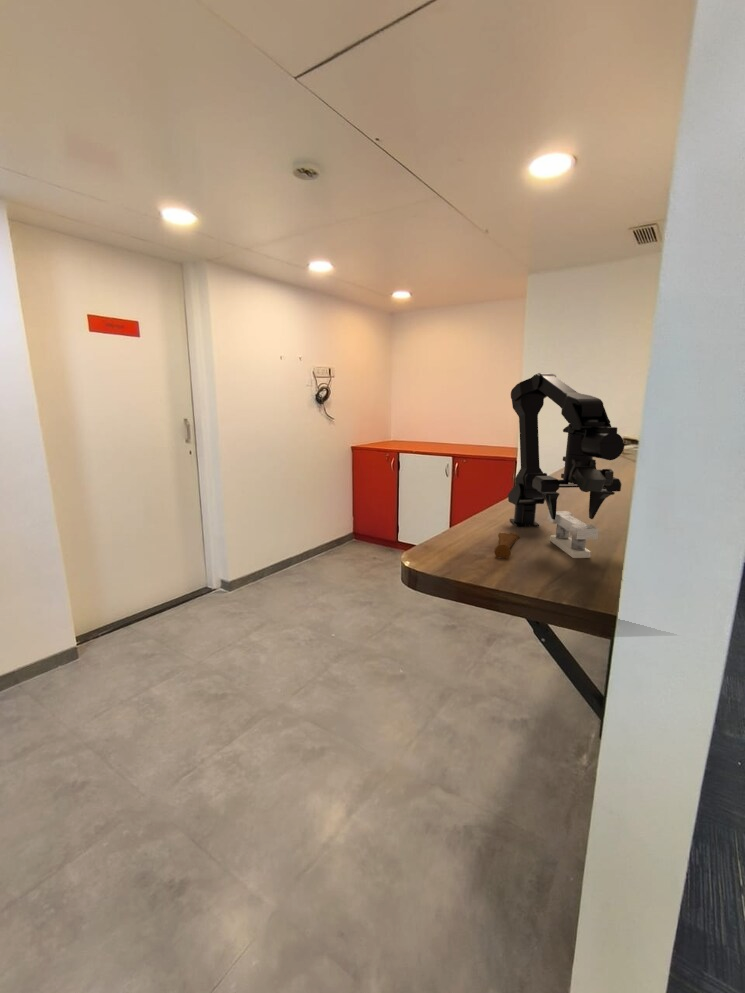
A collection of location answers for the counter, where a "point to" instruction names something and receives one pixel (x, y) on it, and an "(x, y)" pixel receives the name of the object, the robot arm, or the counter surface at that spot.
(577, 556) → the peg rack
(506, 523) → the counter surface
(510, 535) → the primitive tool
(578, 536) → the spanner
